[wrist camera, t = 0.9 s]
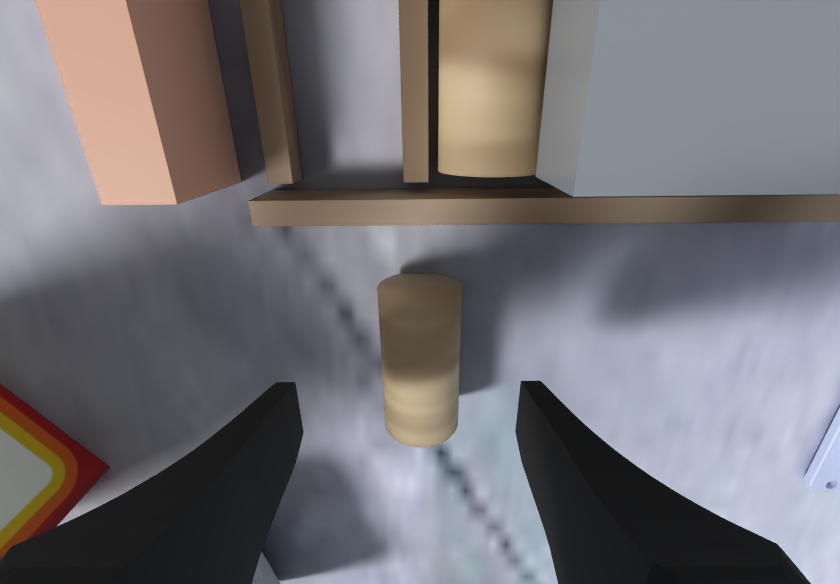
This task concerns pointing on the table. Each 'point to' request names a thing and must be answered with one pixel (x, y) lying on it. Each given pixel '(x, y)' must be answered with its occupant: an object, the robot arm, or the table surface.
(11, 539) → the baking soda box
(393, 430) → the roller
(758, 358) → the table surface
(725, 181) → the slab
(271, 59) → the roller track
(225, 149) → the block
